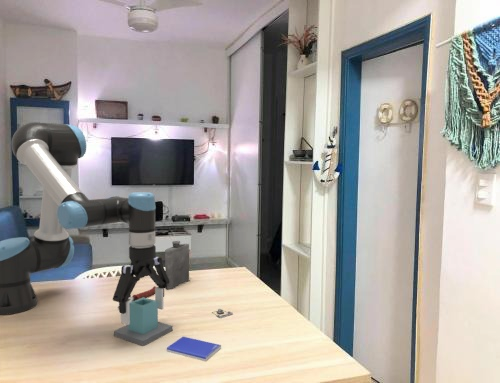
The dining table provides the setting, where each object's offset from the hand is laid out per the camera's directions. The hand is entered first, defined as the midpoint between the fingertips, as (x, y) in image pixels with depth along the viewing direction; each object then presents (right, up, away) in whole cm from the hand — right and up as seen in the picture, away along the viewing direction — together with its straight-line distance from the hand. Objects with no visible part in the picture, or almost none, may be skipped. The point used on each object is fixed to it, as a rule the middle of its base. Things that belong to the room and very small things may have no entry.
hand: (143, 315), depth 121 cm
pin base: (0, -5, 0) cm, 5 cm away
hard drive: (+16, -7, -9) cm, 20 cm away
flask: (+2, -2, +47) cm, 47 cm away
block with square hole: (0, -4, 0) cm, 4 cm away
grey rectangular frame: (+26, -5, +16) cm, 31 cm away
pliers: (-12, -4, +31) cm, 33 cm away
